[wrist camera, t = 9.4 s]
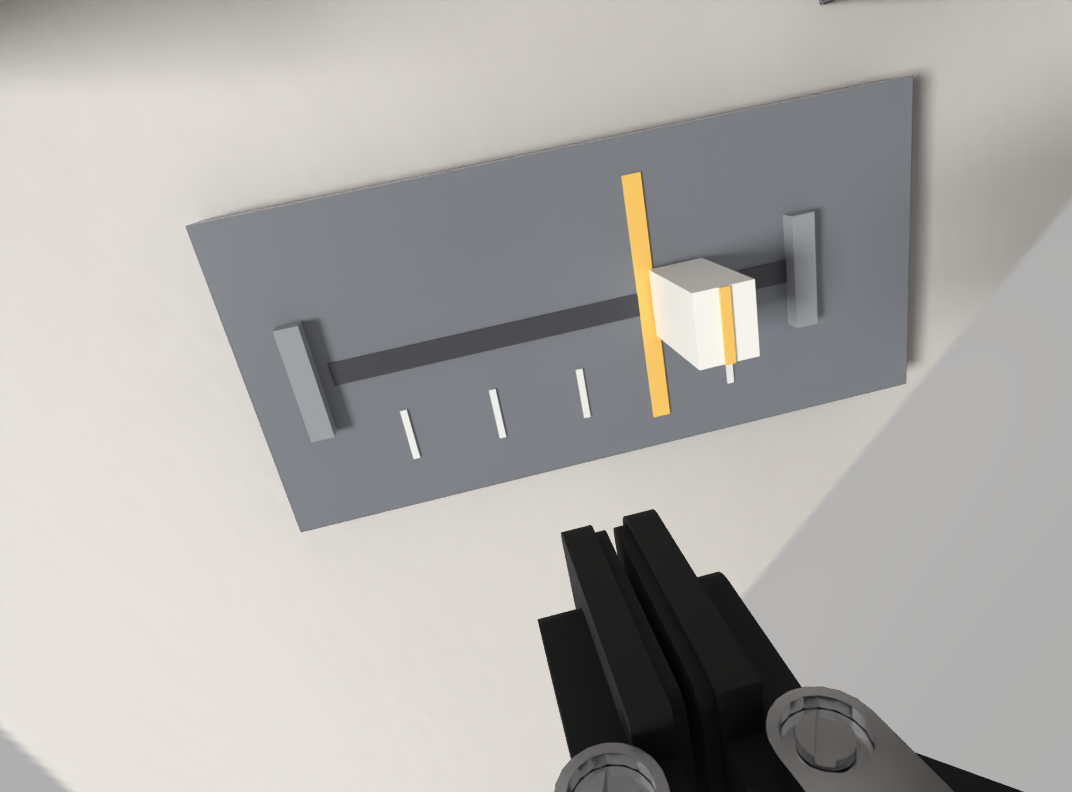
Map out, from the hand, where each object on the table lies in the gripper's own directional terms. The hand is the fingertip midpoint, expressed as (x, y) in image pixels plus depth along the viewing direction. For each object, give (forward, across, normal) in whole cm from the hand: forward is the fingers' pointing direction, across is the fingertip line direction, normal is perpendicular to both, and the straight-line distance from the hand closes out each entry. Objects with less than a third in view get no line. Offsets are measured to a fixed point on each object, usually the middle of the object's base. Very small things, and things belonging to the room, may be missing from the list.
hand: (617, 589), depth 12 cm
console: (+21, -4, +1) cm, 21 cm away
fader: (+18, -8, +1) cm, 20 cm away
